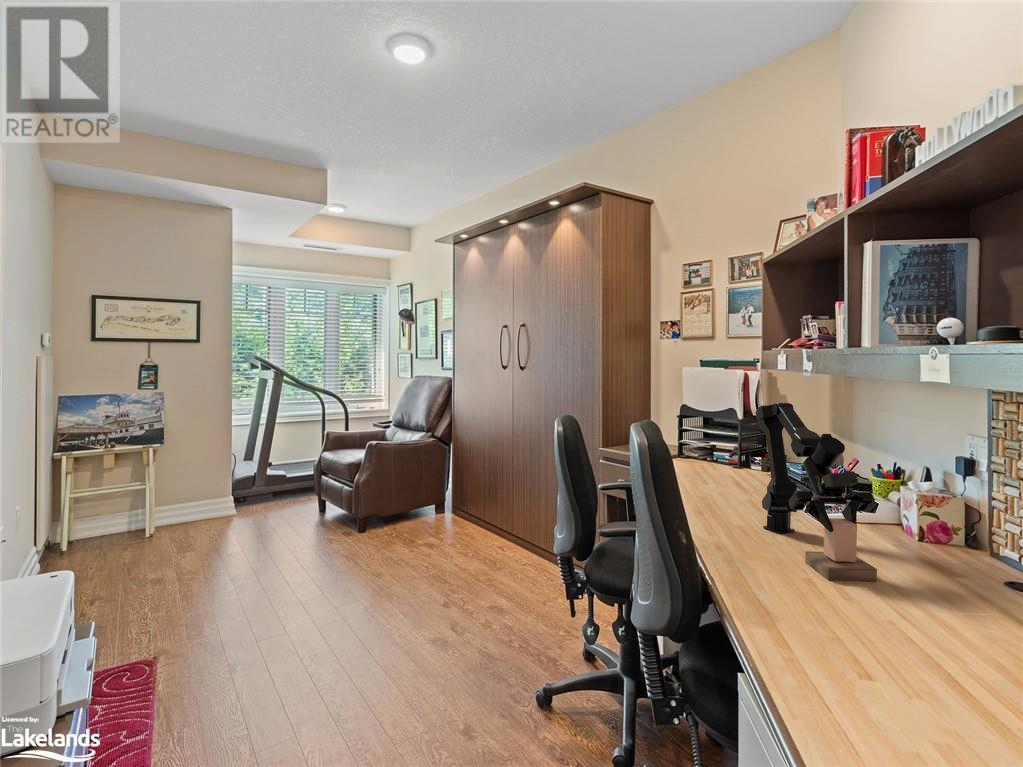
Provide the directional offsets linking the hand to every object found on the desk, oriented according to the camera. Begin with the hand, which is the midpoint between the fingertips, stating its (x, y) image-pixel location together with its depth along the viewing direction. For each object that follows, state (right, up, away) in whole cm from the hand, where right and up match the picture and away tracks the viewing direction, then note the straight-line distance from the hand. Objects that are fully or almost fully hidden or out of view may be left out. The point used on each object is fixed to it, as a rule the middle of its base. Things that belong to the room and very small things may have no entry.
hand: (843, 531), depth 128 cm
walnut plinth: (0, -10, +2) cm, 10 cm away
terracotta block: (0, -7, +2) cm, 7 cm away
